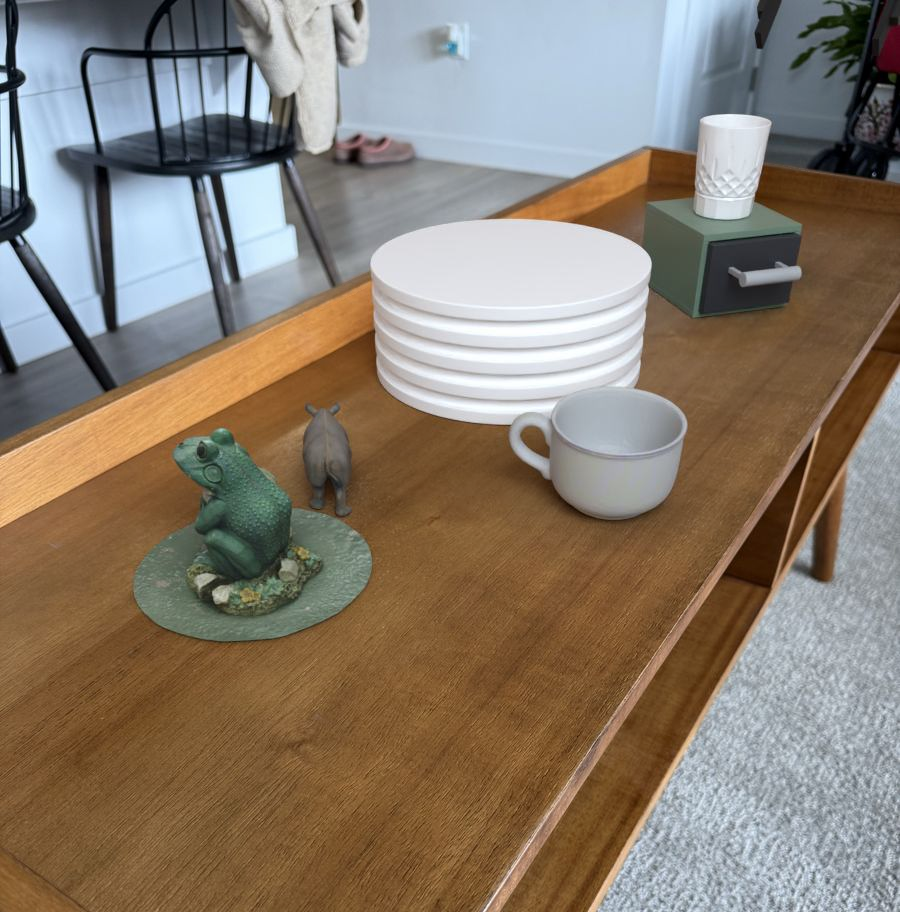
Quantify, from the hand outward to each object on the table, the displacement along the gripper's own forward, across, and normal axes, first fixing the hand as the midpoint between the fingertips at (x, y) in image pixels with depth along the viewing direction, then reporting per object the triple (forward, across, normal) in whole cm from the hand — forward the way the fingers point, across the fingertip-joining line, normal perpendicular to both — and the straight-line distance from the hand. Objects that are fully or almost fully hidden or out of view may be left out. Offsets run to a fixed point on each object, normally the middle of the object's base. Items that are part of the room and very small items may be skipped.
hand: (815, 44), depth 113 cm
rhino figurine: (+72, -15, -35) cm, 82 cm away
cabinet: (+28, -4, +9) cm, 30 cm away
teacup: (+66, +6, -29) cm, 72 cm away
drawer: (+29, -1, +6) cm, 30 cm away
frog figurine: (+82, -12, -45) cm, 94 cm away
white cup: (+21, -4, +2) cm, 22 cm away
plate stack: (+51, -14, -14) cm, 55 cm away
